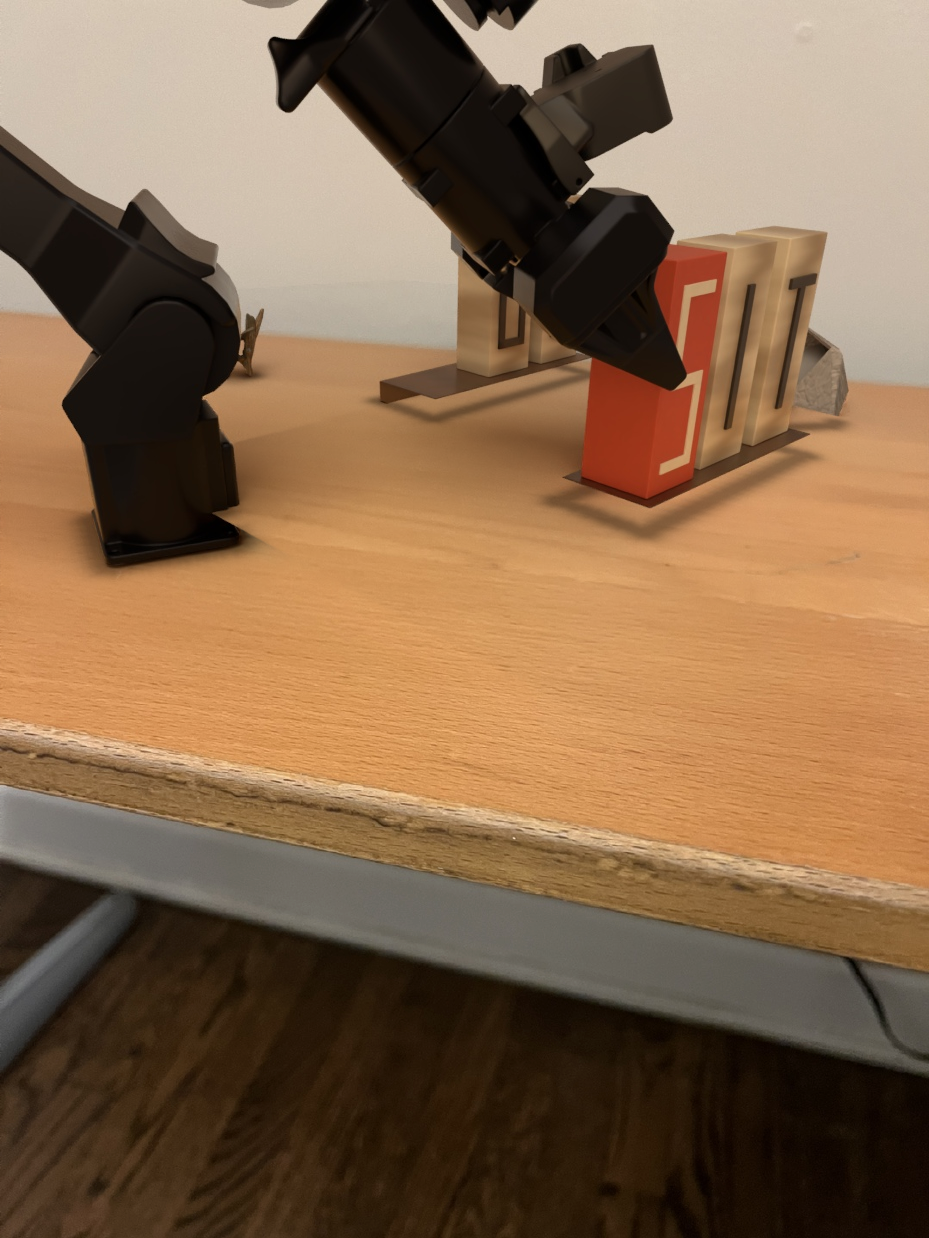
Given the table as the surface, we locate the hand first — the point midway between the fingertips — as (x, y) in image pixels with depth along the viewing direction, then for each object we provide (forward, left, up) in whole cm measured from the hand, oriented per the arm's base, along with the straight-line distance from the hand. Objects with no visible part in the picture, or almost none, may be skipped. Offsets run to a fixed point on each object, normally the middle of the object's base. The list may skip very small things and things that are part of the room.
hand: (643, 359), depth 48 cm
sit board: (+6, +2, -8) cm, 10 cm away
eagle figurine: (-17, +36, -8) cm, 40 cm away
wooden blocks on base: (+3, +24, -8) cm, 25 cm away
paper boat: (+21, +11, -8) cm, 25 cm away
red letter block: (0, 0, -7) cm, 7 cm away
